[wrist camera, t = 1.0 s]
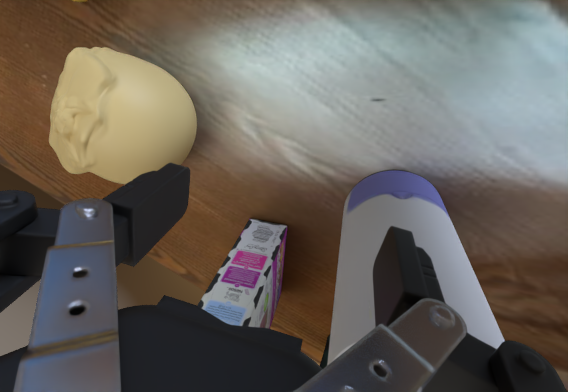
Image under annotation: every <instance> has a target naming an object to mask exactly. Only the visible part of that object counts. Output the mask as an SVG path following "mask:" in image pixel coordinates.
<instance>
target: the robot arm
mask: <svg viewBox="0 0 568 392" xmlns="http://www.w3.org/2000/svg"><path fill="white" fill-rule="evenodd" d="M189 184H190V169H189V168H188V167H184V166H181V165H177V164H174V163H168V164H166V165H165V166H164V167H162V168H161V169H159V170H158V171H150V172H147V173H143V174H141V175H139V176H138V177H136V178H134V179H133V180H132V181H130V182H128V183H127V184H125V186H122V187H121V188H119V189H117V190H116V191H114V192H113V193H111V194H110V195H108V196H107V197H105V198H103V199H102V200H101V199H95V198H85V199H79V200H75V201H72V202H70V203H68V204H66V205H64V206H63V207H62V209H61V210H57V209H45V208H37V207H36V201H35V197H34V196H33V195H32V194H30V193H28V192H25V191H18V190H7V191H0V313H1V312H2V311H3V310H4V309H5V308H7V307H8V306H9V305H10V304H11V303H12V302H14V301H15V300H16V299H17V298H18V297H20V296H21V295H22V294H23V293H24V292H26V291H27V290H28V289H29V288H30V287H31V286H33V285H34V284H35V283H36V282H37V281H39V280H40V279H41V283H40V288H39V293H38V298H37V303H36V309H35V313H34V319H33V324H32V329H31V334H30V339H29V344H28V346H26V347H23V348H20V349H18V350H15V351H13V352H10V353H8V354H5V355H3V356H0V392H567V391H566V389H565V387H564V385H563V383H562V381H561V379H560V377H559V376H558V374H557V372H556V370H555V369H554V368H553V367H552V365H551V364H550V363H549V362H548V361H547V360H546V359H545V358H544V357H543V356H541V355H540V354H539V353H537V352H536V351H535V350H533V349H531V348H530V347H528V346H526V345H524V344H522V343H519V342H516V341H504V342H502V343H501V345H500V346H499V347H498V348H497V349H496V348H494V347H492V346H490V345H488V344H487V343H485V342H483V341H481V340H479V339H477V338H475V337H474V336H472V335H470V334H469V333H467V326H466V323H465V321H464V320H463V318H462V317H461V316H460V315H459V313H457V312H456V311H455V310H454V309H453V308H452V307H450V306H449V305H447V304H446V303H445V300H444V297H443V294H442V291H441V288H440V284H439V281H438V279H437V275H436V272H435V270H434V266H433V263H432V260H431V258H430V256H429V255H428V254H427V253H426V252H425V250H424V249H423V248H421V247H417V246H416V245H415V241H414V237H413V233H412V231H409V230H405V229H402V228H398V227H395V226H390V228H389V229H388V231H387V233H386V236H385V238H384V240H383V243H382V245H381V247H380V249H379V252H378V254H377V256H376V259H375V262H374V266H373V291H374V309H375V326H376V327H375V328H374V329H373V330H372V331H370V332H369V333H368V334H367V335H365V336H364V337H363V338H361V339H360V340H359V341H358V342H356V343H355V344H354V345H353V346H351V347H350V348H349V349H348V350H346V351H345V352H344V353H343V354H341V355H340V356H339V357H337V358H336V359H335V360H334V361H332V362H331V363H330V364H329V365H327V366H326V367H325V368H324V369H322V368H321V367H320V366H319V365H318V364H317V363H316V362H315V361H313V360H312V359H311V358H309V357H308V356H307V355H305V354H304V353H302V352H301V351H300V350H301V345H302V339H299V338H296V337H293V336H290V335H287V334H284V333H281V332H278V331H275V330H271V329H268V328H259V327H249V326H238V325H230V324H227V323H225V322H223V321H222V320H220V319H218V318H217V317H215V316H213V315H212V314H210V313H209V312H207V311H205V310H204V309H202V308H200V307H199V306H196V305H193V304H190V303H187V302H184V301H181V300H178V299H175V298H172V297H168V296H165V295H164V296H163V298H162V299H161V300H160V302H159V303H158V304H157V305H140V306H133V307H127V308H123V309H120V310H118V300H117V281H116V280H117V279H116V267H117V266H118V265H119V264H120V263H124V264H127V265H130V266H133V267H134V266H135V265H136V264H137V263H138V262H139V261H140V260H141V259H142V258H143V257H144V256H145V255H146V254H147V253H148V252H149V251H150V250H151V249H152V247H153V246H154V245H155V244H156V243H157V242H158V241H159V240H160V239H161V238H162V237H163V236H164V235H165V234H166V233H167V232H168V231H169V230H170V229H171V228H172V227H173V226H174V225H175V224H176V223H177V222H178V221H179V220H180V219H181V218H182V216H183V215H184V213H185V211H186V209H187V206H188V198H189Z"/></svg>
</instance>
